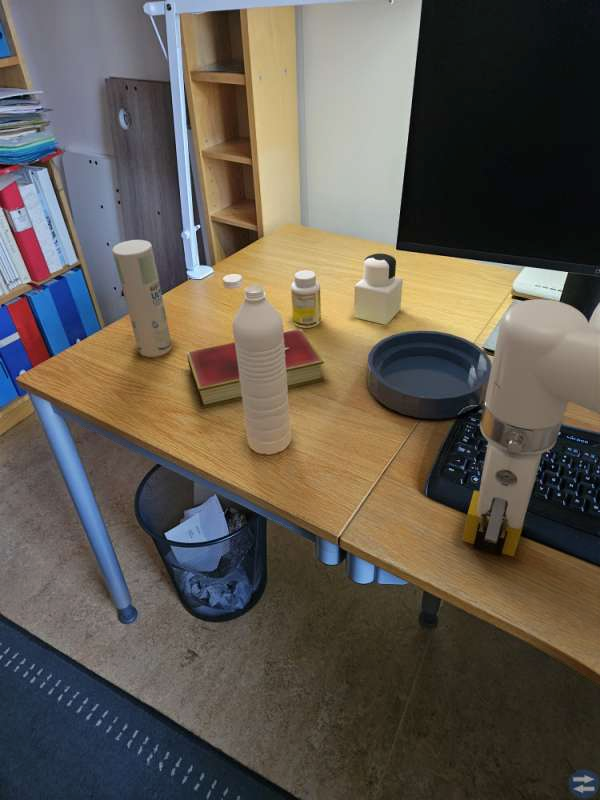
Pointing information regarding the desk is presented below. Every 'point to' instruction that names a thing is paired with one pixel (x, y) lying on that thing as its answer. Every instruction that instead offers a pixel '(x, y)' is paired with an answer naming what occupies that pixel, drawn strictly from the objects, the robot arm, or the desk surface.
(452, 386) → the bowl
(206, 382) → the hardcover book
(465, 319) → the desk surface
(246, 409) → the water bottle
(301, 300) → the supplement bottle
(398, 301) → the blocky head figurine
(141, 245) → the spray can
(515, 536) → the sponge
